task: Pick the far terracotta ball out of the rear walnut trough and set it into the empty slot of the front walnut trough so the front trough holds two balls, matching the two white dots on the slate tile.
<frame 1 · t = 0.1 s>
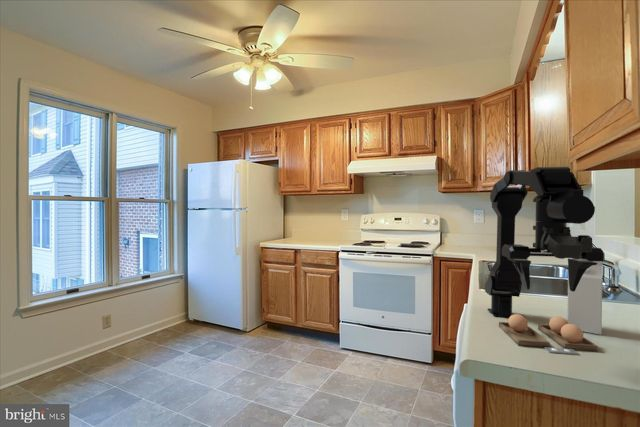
hand: (549, 290, 73), 15 cm above the worktop, tool pointing down, fingers open, 9 cm apart
target card: (561, 351, 74), on the worktop
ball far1: (559, 325, 84), point 3 cm above the worktop, touching trough far
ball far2: (571, 333, 79), point 3 cm above the worktop, touching trough far
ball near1: (517, 322, 86), point 3 cm above the worktop, touching trough near
milk carton: (583, 329, 89), on the worktop
trough near: (522, 336, 83), on the worktop
trough far: (565, 339, 81), on the worktop
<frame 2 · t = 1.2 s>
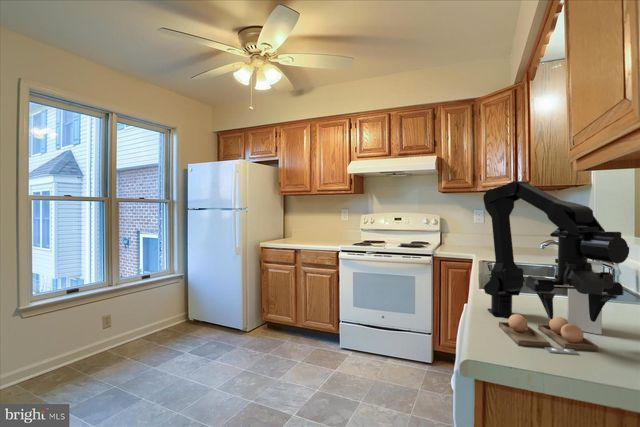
hand: (571, 320, 79), 6 cm above the worktop, tool pointing down, fingers open, 9 cm apart
nothing on the worktop moved.
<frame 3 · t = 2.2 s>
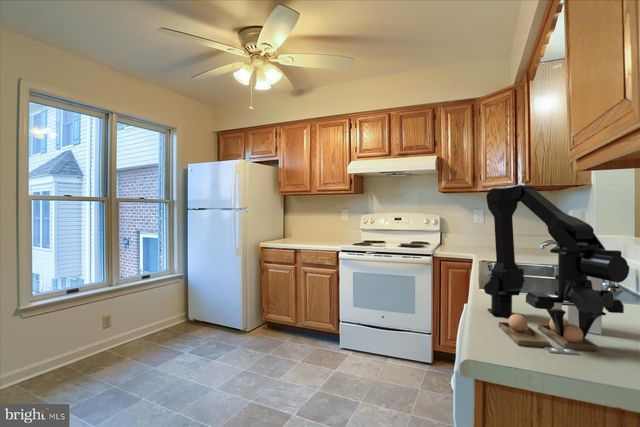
hand: (571, 336, 79), 2 cm above the worktop, tool pointing down, fingers closed on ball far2, 4 cm apart
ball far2: (571, 333, 79), point 3 cm above the worktop, touching gripper, trough far
everything else where it was.
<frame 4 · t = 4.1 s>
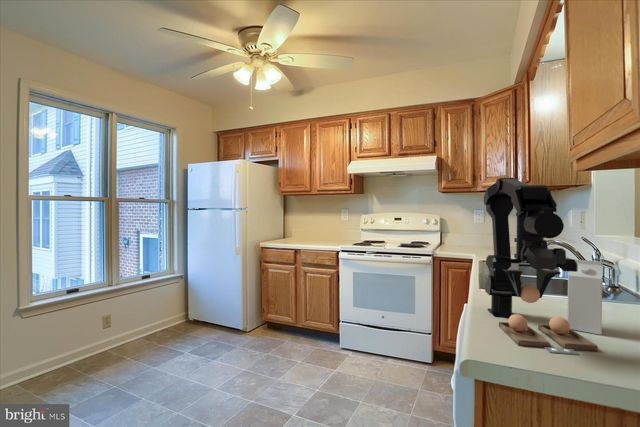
hand: (529, 297, 80), 11 cm above the worktop, tool pointing down, fingers closed on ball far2, 4 cm apart
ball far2: (529, 293, 80), point 12 cm above the worktop, touching gripper
everything else where it was.
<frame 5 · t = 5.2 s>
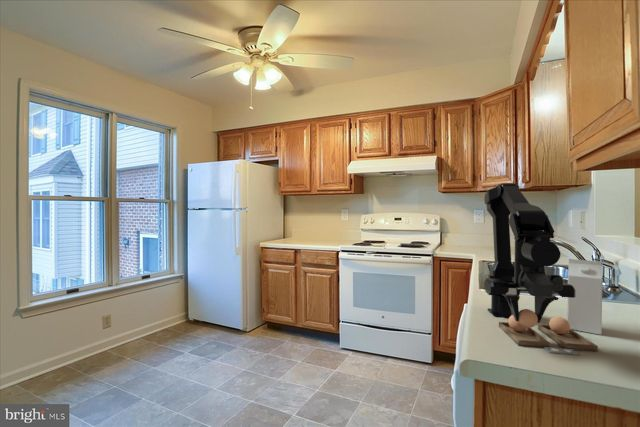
hand: (527, 321, 81), 5 cm above the worktop, tool pointing down, fingers closed on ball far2, 4 cm apart
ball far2: (527, 318, 80), point 6 cm above the worktop, touching gripper
everything else where it was.
when the fingers open (3 cm above the worktop, at t = 6.0 s): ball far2 drops 1 cm, resting on trough near.
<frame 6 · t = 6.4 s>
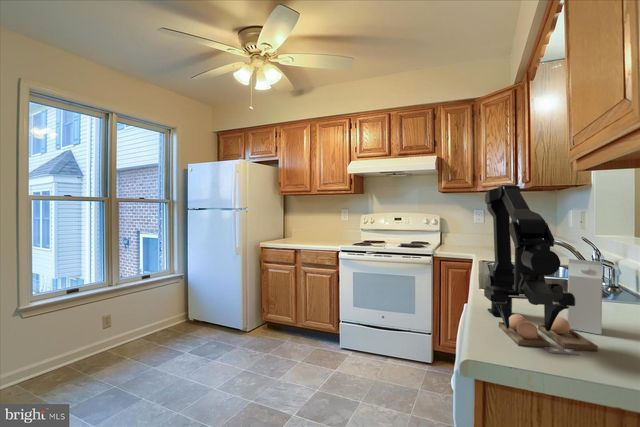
hand: (527, 329, 81), 3 cm above the worktop, tool pointing down, fingers open, 9 cm apart
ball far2: (527, 330, 80), point 3 cm above the worktop, touching trough near
everything else where it was.
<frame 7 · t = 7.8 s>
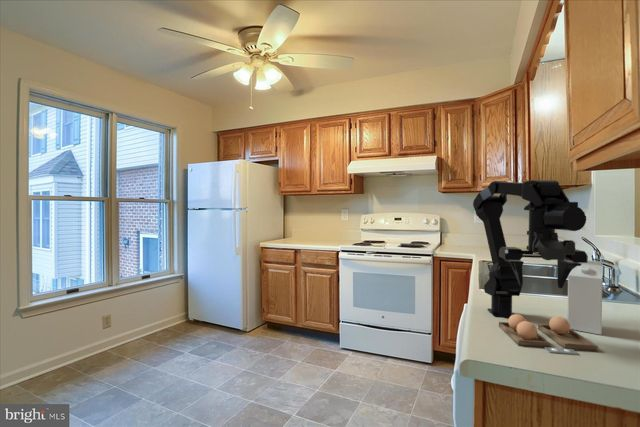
hand: (540, 287, 85), 13 cm above the worktop, tool pointing down, fingers open, 9 cm apart
nothing on the worktop moved.
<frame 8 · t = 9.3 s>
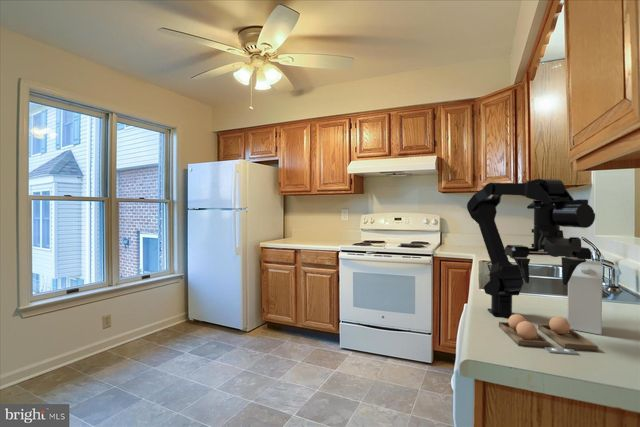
hand: (545, 283, 86), 13 cm above the worktop, tool pointing down, fingers open, 9 cm apart
nothing on the worktop moved.
at the end: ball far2 inside the target area on the trough near (2.8 cm from its centre), point 2.6 cm above the trough near's base; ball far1 moved 0.0 cm from its start; the gripper is holding nothing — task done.
